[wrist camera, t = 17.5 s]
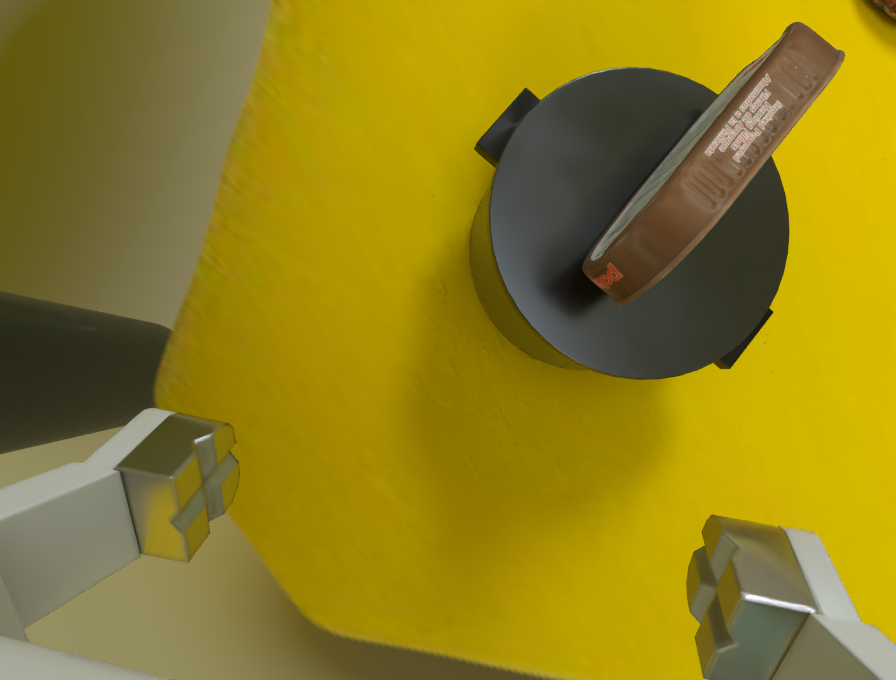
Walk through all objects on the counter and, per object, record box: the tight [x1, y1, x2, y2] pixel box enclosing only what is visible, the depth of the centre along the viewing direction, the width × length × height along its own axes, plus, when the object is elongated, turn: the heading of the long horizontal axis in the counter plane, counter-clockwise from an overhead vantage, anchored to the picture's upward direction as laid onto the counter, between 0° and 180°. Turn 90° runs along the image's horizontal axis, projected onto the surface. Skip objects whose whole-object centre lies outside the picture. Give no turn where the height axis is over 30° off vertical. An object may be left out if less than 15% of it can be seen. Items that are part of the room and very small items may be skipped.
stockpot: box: [470, 67, 789, 380], centre depth 36 cm, size 19×17×9 cm
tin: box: [582, 22, 845, 306], centre depth 27 cm, size 15×3×8 cm, turn 140°
